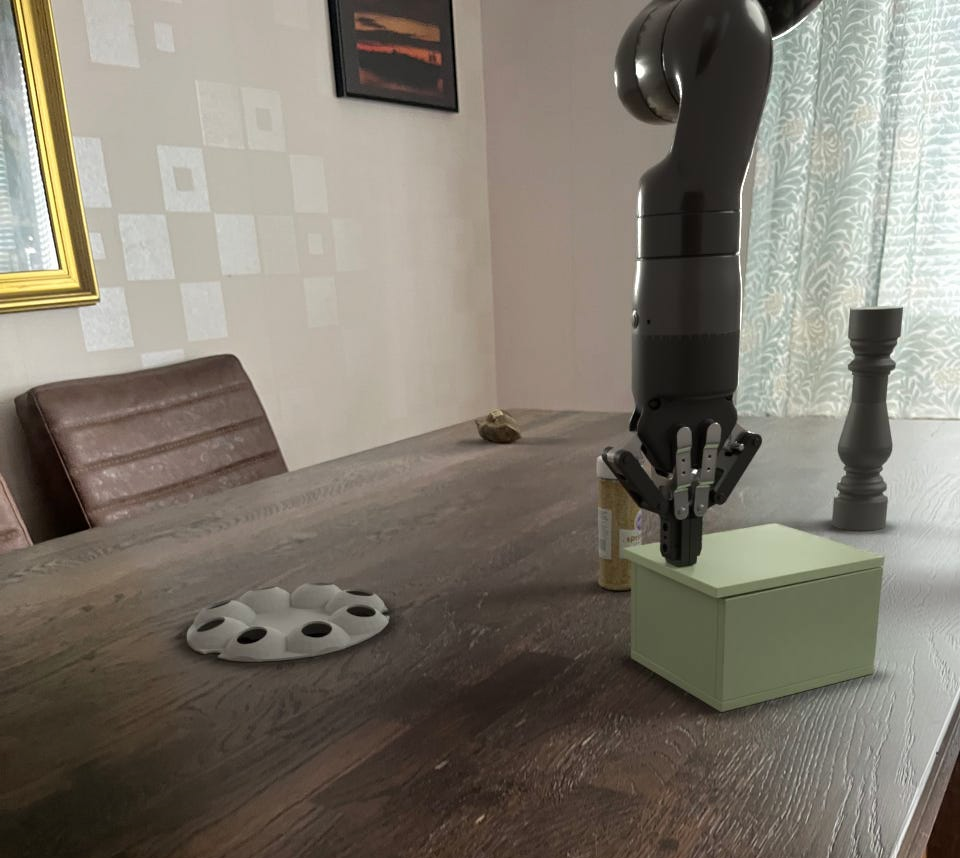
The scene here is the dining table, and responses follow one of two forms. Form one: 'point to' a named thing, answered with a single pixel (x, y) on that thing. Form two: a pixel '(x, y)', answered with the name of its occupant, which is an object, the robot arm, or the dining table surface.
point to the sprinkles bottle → (615, 529)
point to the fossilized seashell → (499, 427)
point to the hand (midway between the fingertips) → (680, 563)
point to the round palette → (287, 623)
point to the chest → (755, 635)
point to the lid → (757, 560)
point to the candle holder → (867, 420)
